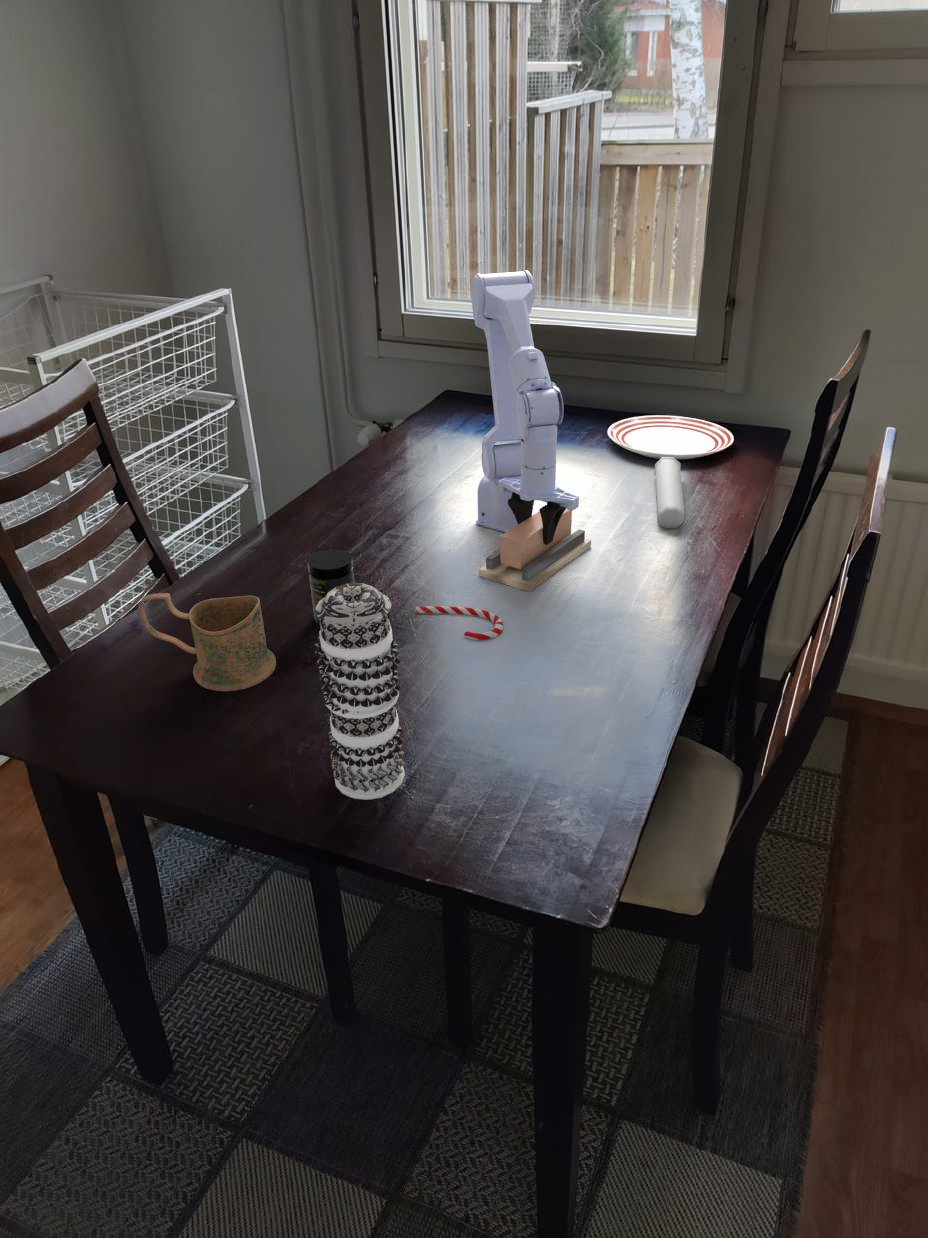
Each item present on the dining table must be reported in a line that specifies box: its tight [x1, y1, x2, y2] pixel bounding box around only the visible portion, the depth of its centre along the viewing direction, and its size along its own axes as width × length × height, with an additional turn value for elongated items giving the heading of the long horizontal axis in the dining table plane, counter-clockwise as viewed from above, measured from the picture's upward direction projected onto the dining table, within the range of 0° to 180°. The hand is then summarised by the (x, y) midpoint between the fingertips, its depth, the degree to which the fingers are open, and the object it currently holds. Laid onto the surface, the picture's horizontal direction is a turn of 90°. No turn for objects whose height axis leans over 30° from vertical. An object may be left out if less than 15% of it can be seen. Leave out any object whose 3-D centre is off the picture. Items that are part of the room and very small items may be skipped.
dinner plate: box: [607, 414, 735, 461], centre depth 204 cm, size 28×27×3 cm
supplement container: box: [306, 548, 355, 626], centre depth 140 cm, size 7×7×10 cm
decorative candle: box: [314, 582, 406, 801], centre depth 104 cm, size 9×9×25 cm
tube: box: [653, 457, 685, 529], centre depth 176 cm, size 5×5×25 cm
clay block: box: [499, 508, 573, 569], centre depth 156 cm, size 4×16×5 cm, turn 144°
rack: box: [478, 528, 592, 592], centre depth 157 cm, size 10×20×3 cm, turn 143°
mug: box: [138, 592, 277, 692], centre depth 128 cm, size 12×18×12 cm, turn 88°
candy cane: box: [414, 605, 504, 641], centre depth 141 cm, size 8×1×15 cm
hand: (536, 538), depth 156 cm, fingers closed on clay block, 4 cm apart
